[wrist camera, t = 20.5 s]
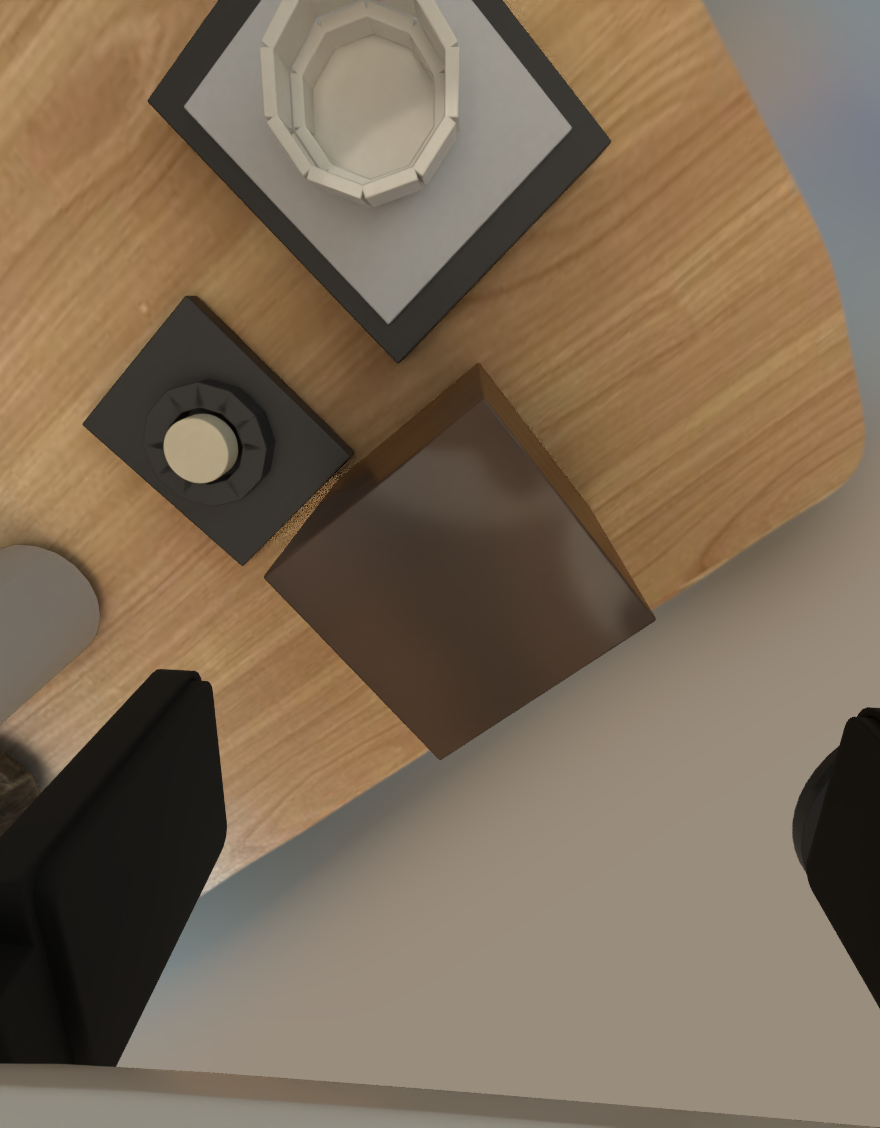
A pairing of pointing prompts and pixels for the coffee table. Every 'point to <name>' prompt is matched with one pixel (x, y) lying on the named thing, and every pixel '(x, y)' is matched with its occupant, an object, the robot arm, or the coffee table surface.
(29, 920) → the robot arm
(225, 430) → the button
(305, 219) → the scale
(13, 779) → the rock
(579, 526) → the stand
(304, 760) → the coffee table surface
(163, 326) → the pad
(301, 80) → the bowl
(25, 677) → the can
